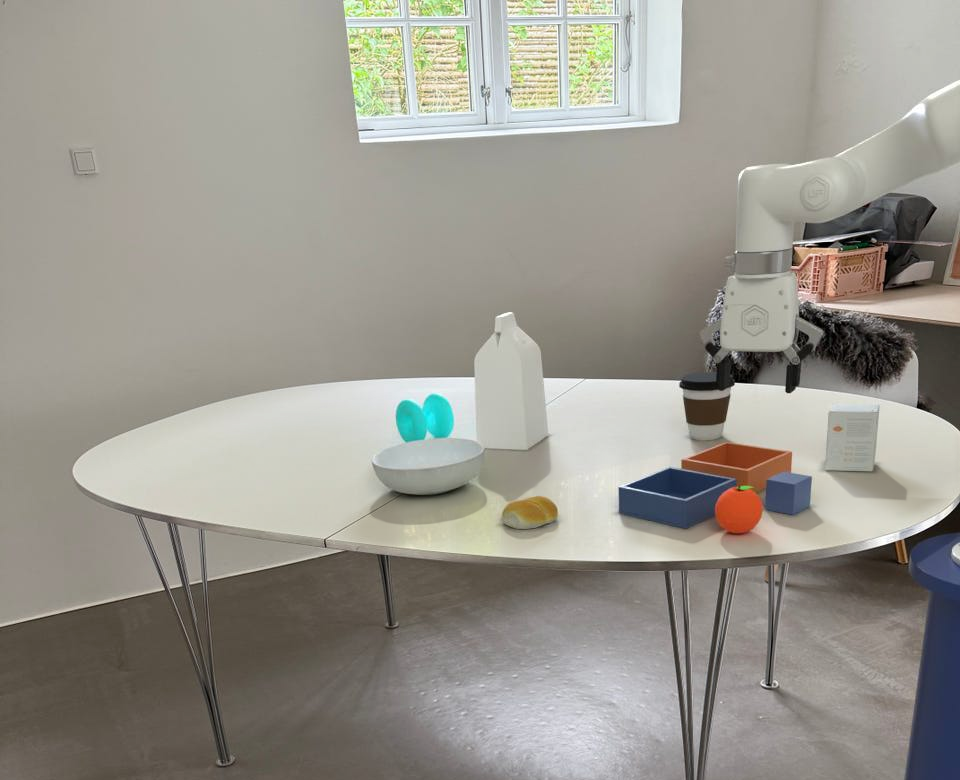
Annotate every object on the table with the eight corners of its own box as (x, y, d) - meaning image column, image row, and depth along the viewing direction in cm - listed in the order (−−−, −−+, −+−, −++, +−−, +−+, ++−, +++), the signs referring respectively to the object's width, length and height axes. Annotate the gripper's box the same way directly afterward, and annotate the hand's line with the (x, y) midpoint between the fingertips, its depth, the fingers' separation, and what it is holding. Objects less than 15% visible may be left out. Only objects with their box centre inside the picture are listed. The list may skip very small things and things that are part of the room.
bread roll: (567, 518, 155) (566, 495, 153) (527, 533, 150) (526, 509, 148) (532, 509, 161) (531, 486, 159) (493, 523, 156) (491, 500, 154)
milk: (500, 433, 210) (491, 310, 199) (548, 435, 206) (542, 309, 194) (476, 447, 201) (466, 319, 189) (526, 449, 196) (518, 318, 185)
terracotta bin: (790, 476, 165) (792, 451, 163) (746, 497, 157) (748, 470, 155) (725, 465, 174) (726, 441, 172) (681, 484, 167) (681, 459, 165)
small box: (875, 463, 168) (881, 403, 164) (872, 472, 164) (878, 411, 159) (827, 461, 171) (831, 403, 167) (823, 470, 167) (828, 410, 162)
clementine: (742, 519, 148) (744, 475, 145) (776, 530, 142) (779, 484, 139) (704, 532, 144) (705, 486, 141) (737, 543, 139) (739, 496, 136)
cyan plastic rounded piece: (458, 440, 208) (454, 394, 203) (419, 450, 203) (414, 403, 198) (434, 433, 215) (429, 389, 211) (396, 443, 210) (390, 397, 206)
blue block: (810, 506, 151) (812, 476, 148) (792, 515, 148) (794, 484, 146) (782, 501, 154) (783, 471, 152) (764, 509, 151) (766, 479, 149)
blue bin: (736, 505, 154) (737, 478, 152) (685, 528, 146) (686, 500, 144) (669, 492, 163) (669, 466, 161) (618, 513, 156) (618, 486, 154)
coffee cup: (713, 427, 200) (715, 369, 195) (744, 437, 191) (746, 376, 185) (668, 435, 197) (668, 376, 192) (697, 446, 188) (698, 385, 182)
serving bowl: (412, 469, 190) (408, 435, 187) (506, 475, 180) (503, 439, 177) (354, 501, 174) (348, 464, 171) (453, 510, 164) (449, 471, 161)
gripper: (693, 269, 132) (690, 393, 139) (821, 265, 123) (811, 398, 131) (710, 263, 137) (707, 382, 145) (834, 259, 129) (824, 386, 136)
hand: (756, 390), depth 138 cm, fingers open, 9 cm apart
